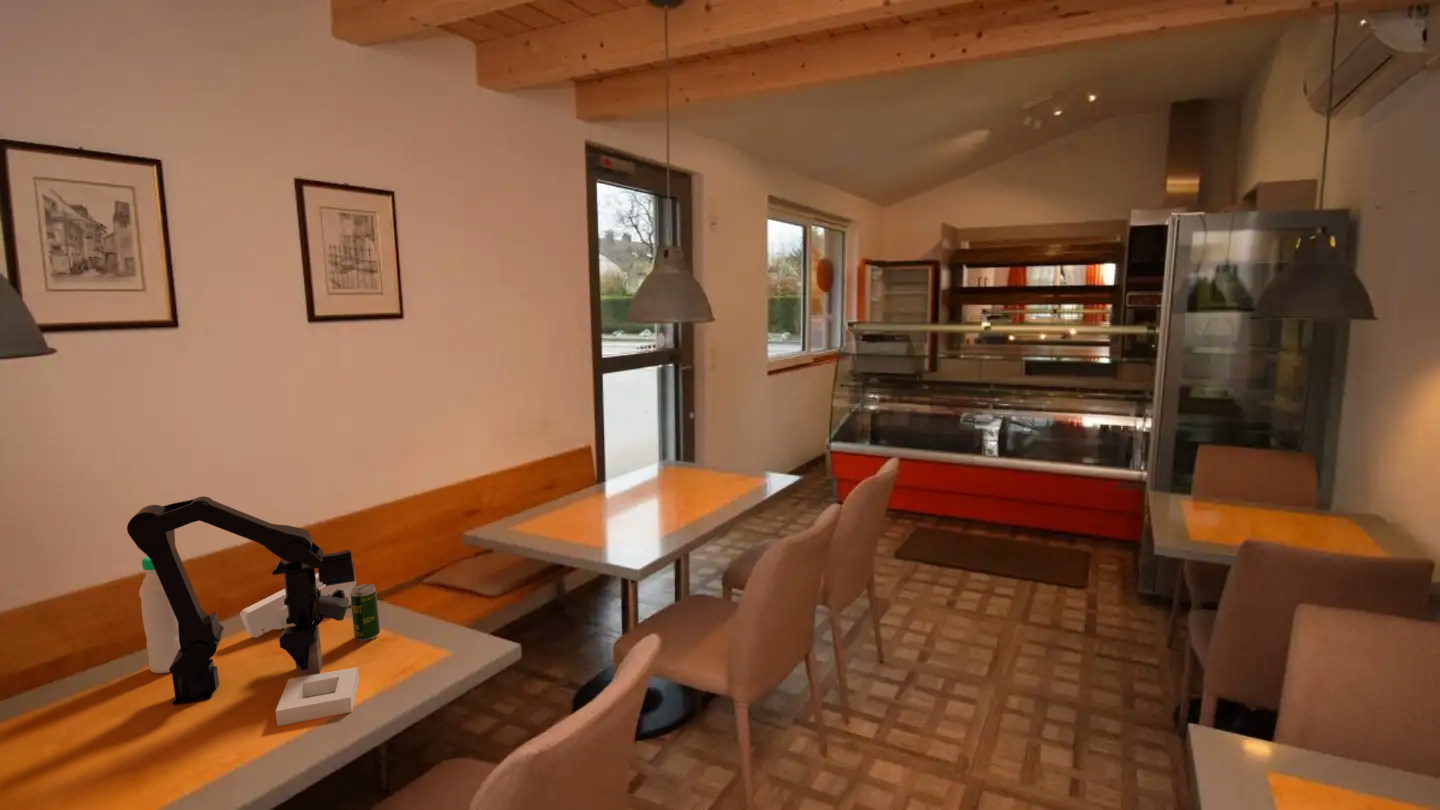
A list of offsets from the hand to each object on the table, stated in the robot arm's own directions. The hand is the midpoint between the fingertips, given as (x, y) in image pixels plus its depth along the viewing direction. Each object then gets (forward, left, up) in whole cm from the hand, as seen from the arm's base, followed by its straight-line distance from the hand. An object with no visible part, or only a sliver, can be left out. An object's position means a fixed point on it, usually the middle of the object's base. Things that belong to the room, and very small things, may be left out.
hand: (308, 659), depth 157 cm
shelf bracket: (-5, +29, -3) cm, 29 cm away
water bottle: (-29, +14, -3) cm, 32 cm away
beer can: (+10, +13, -3) cm, 17 cm away
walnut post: (0, 0, -3) cm, 3 cm away
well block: (+4, -15, -2) cm, 16 cm away
